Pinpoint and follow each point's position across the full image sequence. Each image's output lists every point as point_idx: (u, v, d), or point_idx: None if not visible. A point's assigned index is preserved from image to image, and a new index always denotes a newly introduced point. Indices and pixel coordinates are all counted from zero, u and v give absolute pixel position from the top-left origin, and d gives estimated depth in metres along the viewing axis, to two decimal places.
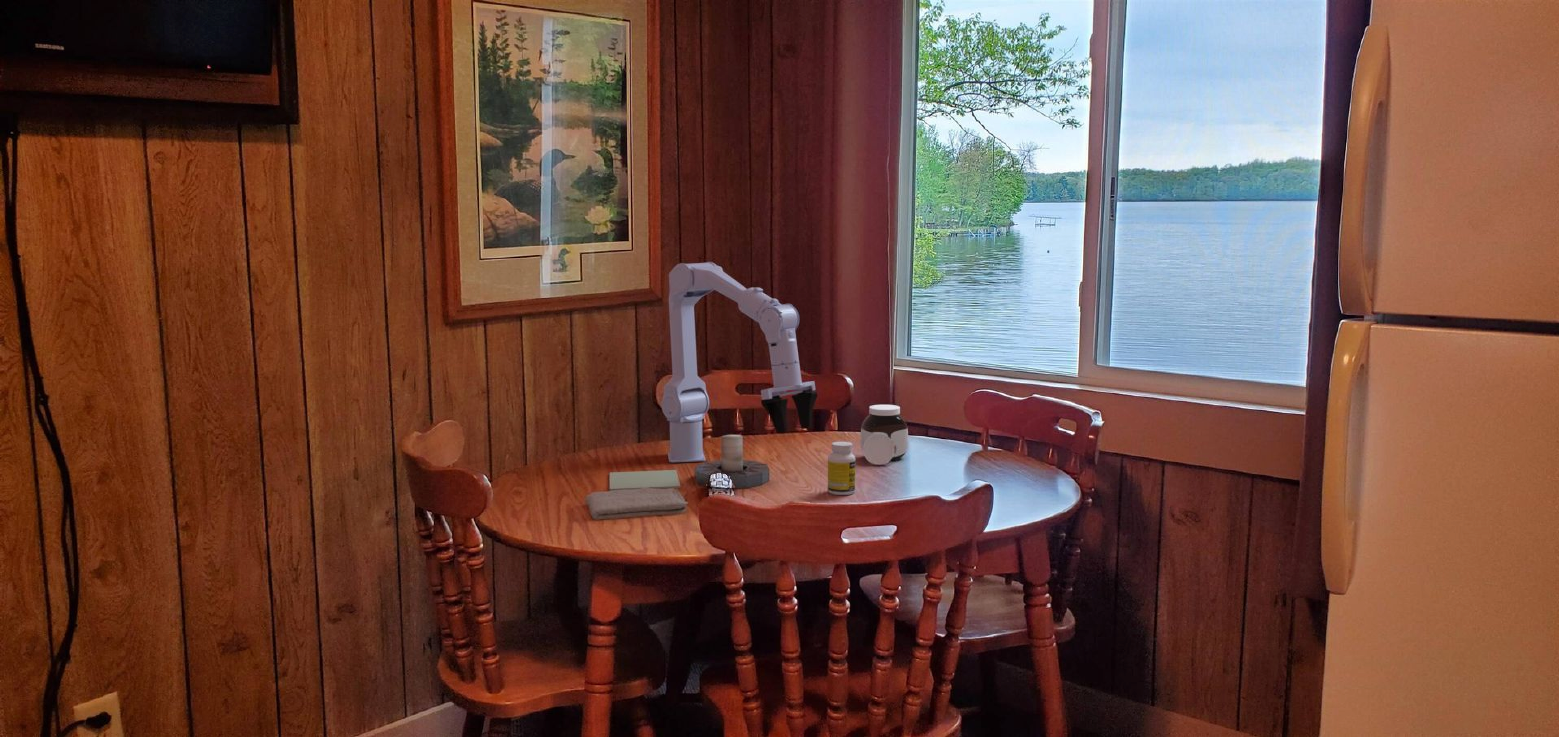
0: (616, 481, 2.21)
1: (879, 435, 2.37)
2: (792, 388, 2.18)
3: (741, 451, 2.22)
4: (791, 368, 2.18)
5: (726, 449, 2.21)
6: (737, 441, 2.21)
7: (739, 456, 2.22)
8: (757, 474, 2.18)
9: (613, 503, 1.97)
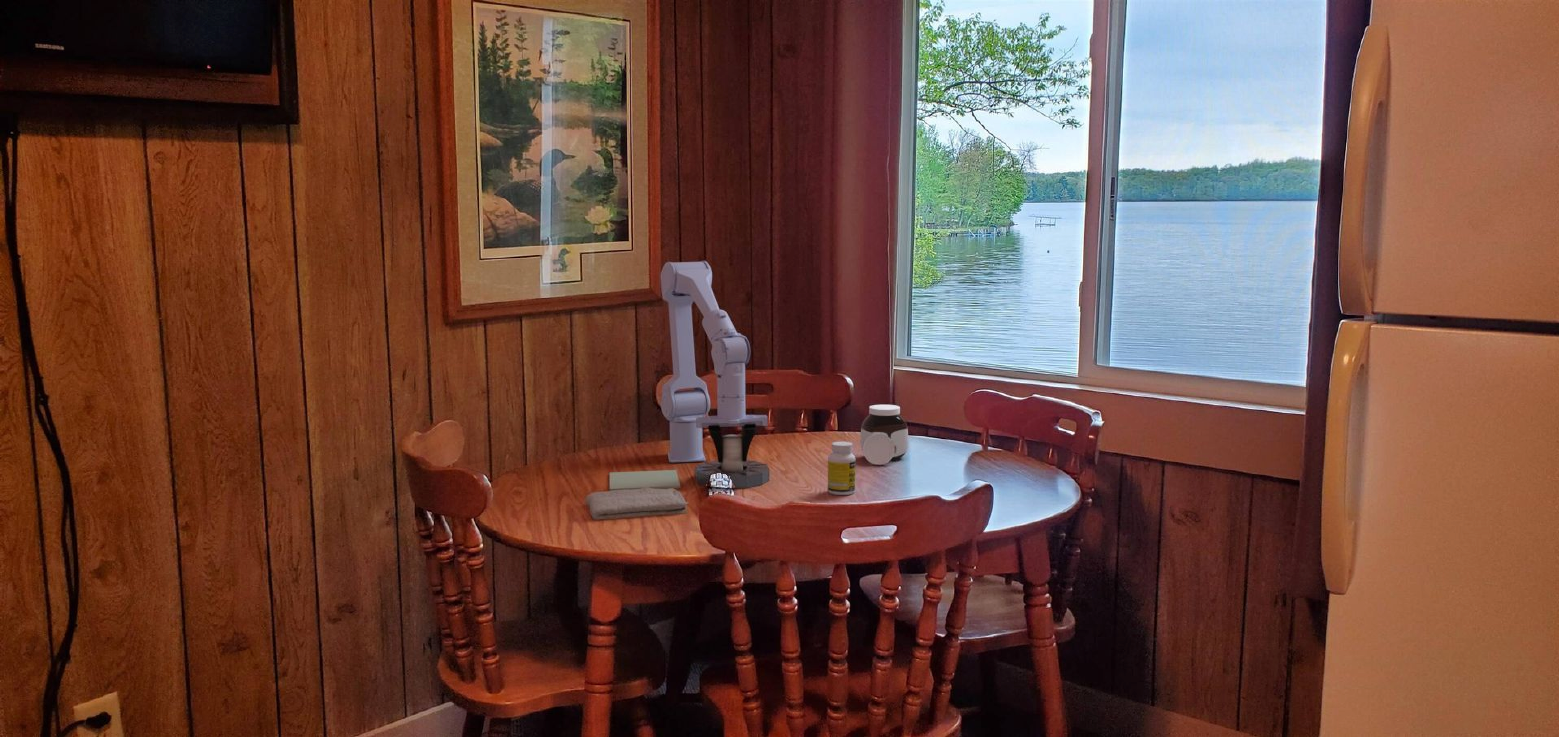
0: (616, 481, 2.21)
1: (879, 435, 2.37)
2: (724, 422, 2.19)
3: (741, 451, 2.22)
4: (726, 402, 2.19)
5: (726, 449, 2.21)
6: (737, 441, 2.21)
7: (739, 456, 2.22)
8: (757, 474, 2.18)
9: (614, 503, 1.97)
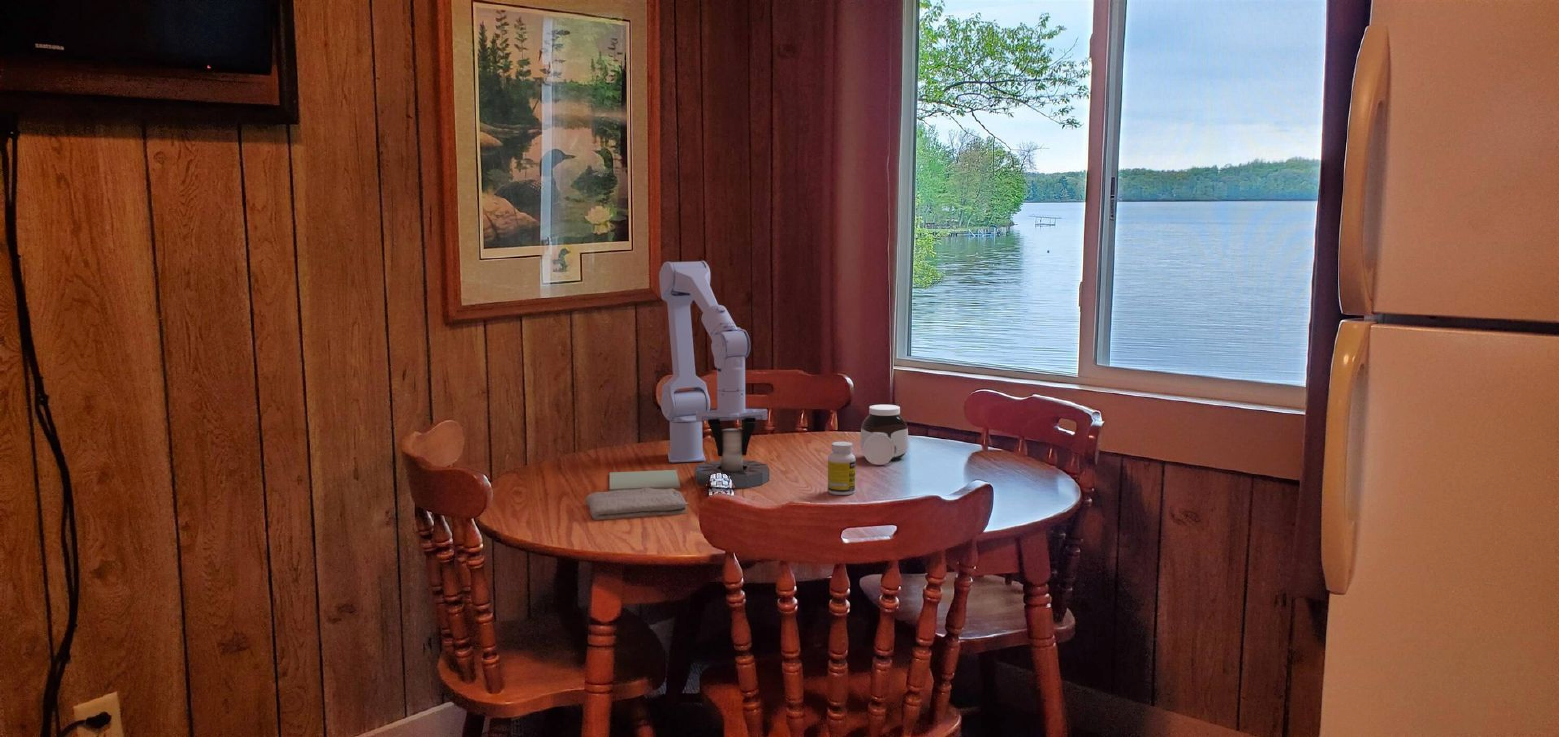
0: (616, 481, 2.21)
1: (879, 435, 2.37)
2: (724, 416, 2.19)
3: (741, 445, 2.22)
4: (726, 396, 2.19)
5: (726, 443, 2.21)
6: (737, 435, 2.21)
7: (739, 450, 2.21)
8: (757, 474, 2.18)
9: (614, 503, 1.97)
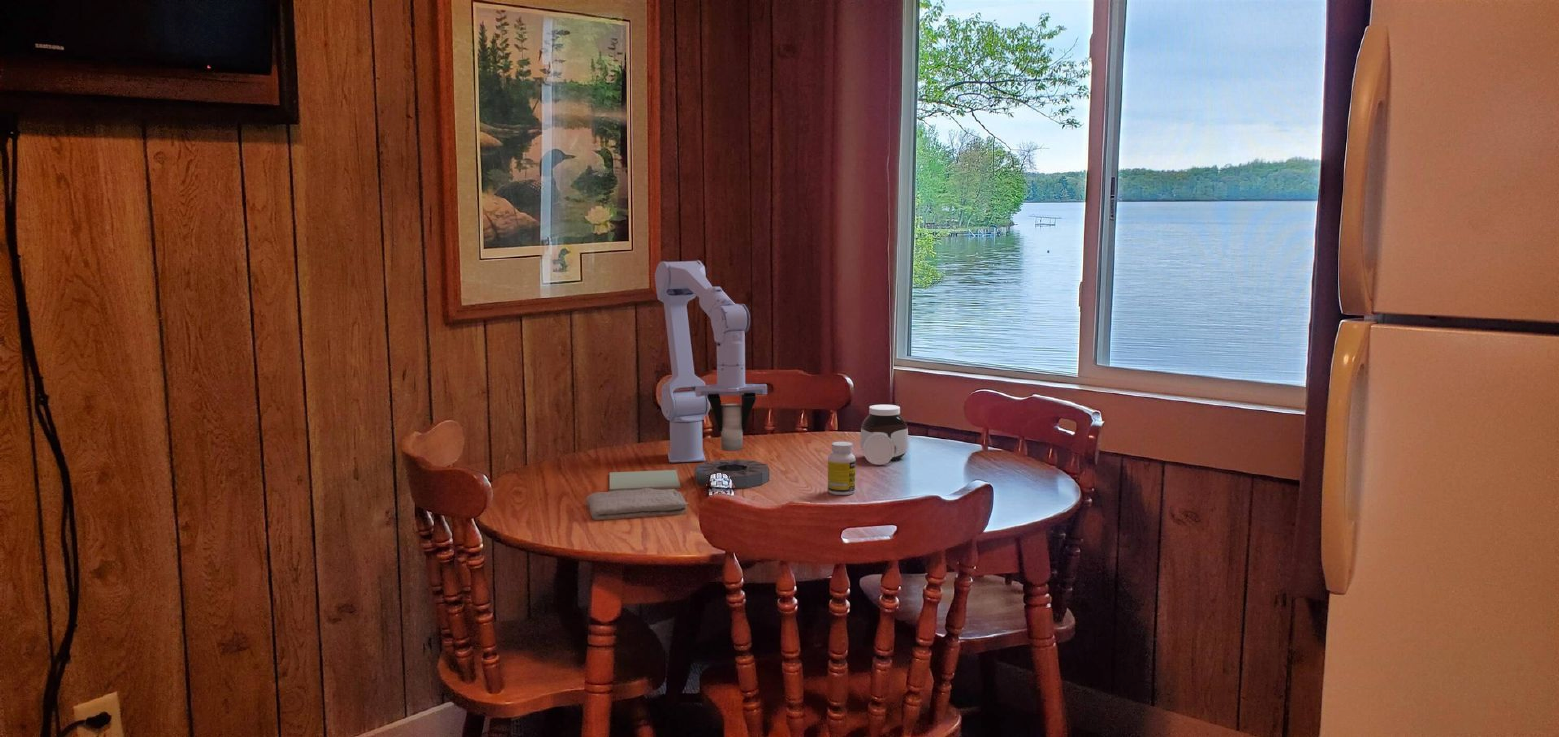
0: (616, 481, 2.21)
1: (879, 435, 2.37)
2: (724, 390, 2.18)
3: (741, 420, 2.21)
4: (726, 370, 2.18)
5: (726, 418, 2.20)
6: (737, 410, 2.20)
7: (739, 425, 2.21)
8: (757, 474, 2.18)
9: (614, 503, 1.97)
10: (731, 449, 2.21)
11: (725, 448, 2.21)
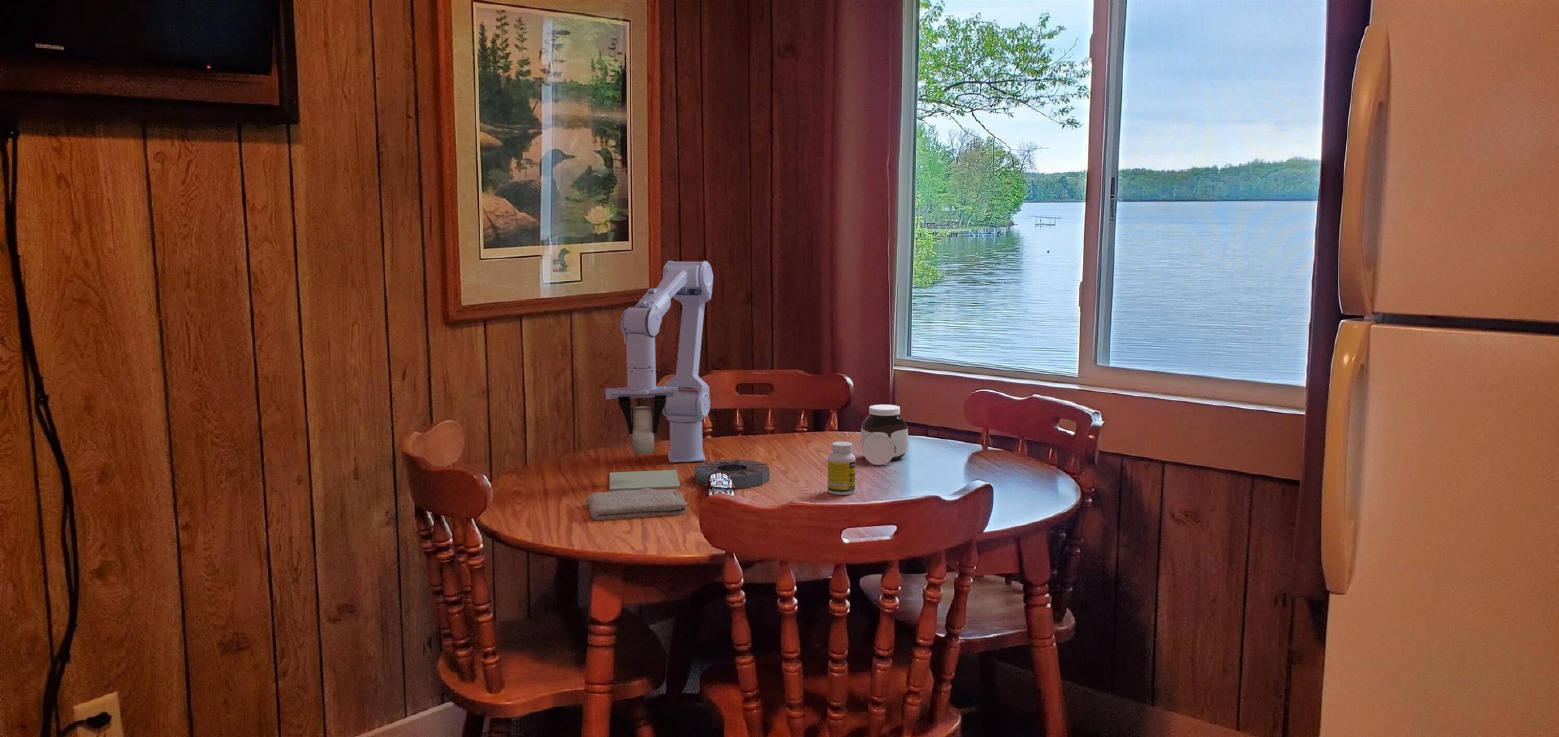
0: (616, 481, 2.21)
1: (879, 435, 2.37)
2: (633, 393, 2.18)
3: (651, 423, 2.20)
4: (635, 373, 2.17)
5: (636, 420, 2.19)
6: (647, 412, 2.19)
7: (650, 428, 2.20)
8: (757, 474, 2.18)
9: (613, 504, 1.97)
10: (642, 452, 2.20)
11: (636, 451, 2.20)
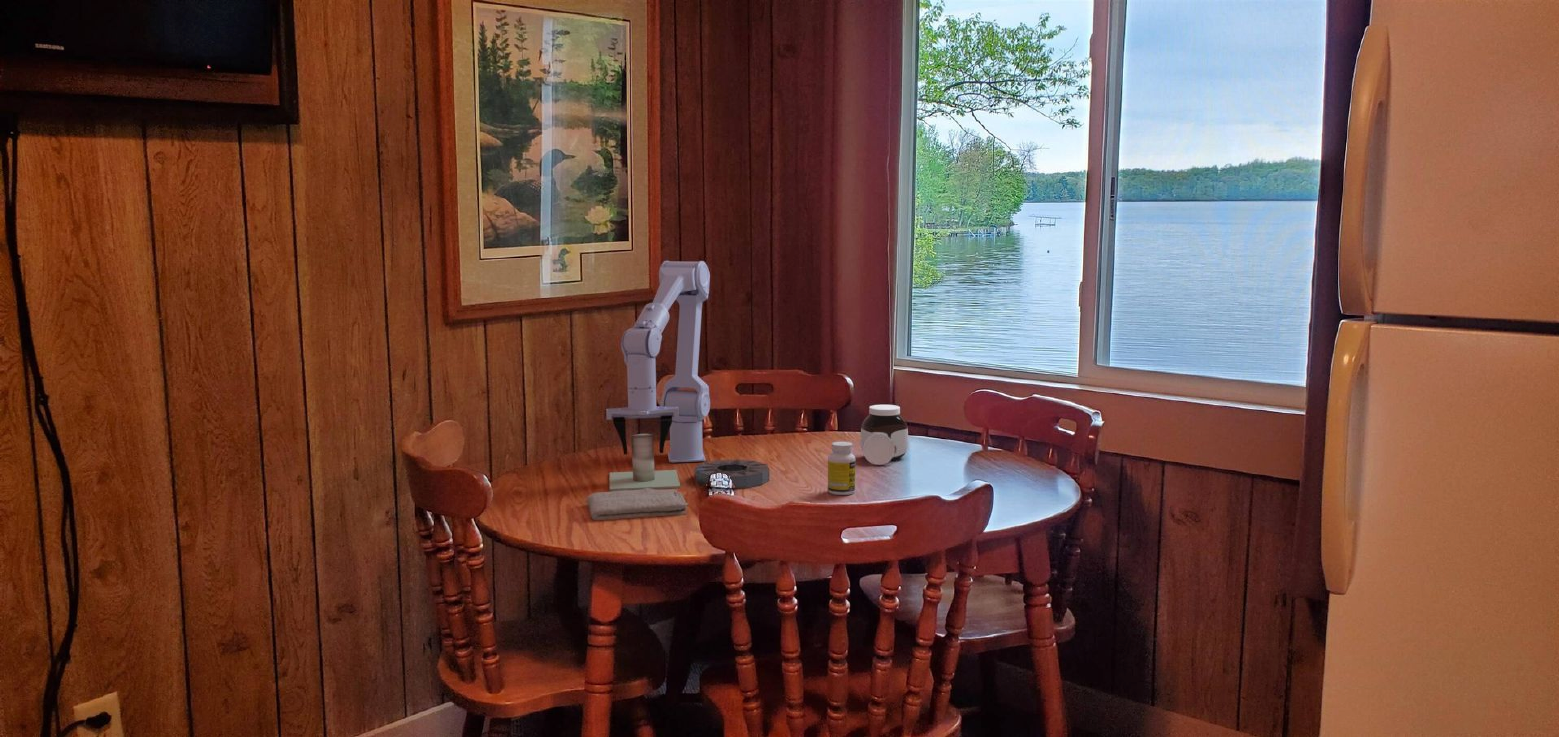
0: (616, 481, 2.21)
1: (879, 435, 2.37)
2: (634, 413, 2.18)
3: (651, 450, 2.21)
4: (636, 394, 2.18)
5: (636, 448, 2.20)
6: (647, 440, 2.20)
7: (650, 455, 2.21)
8: (757, 474, 2.18)
9: (613, 504, 1.97)
10: (642, 479, 2.21)
11: (636, 478, 2.21)
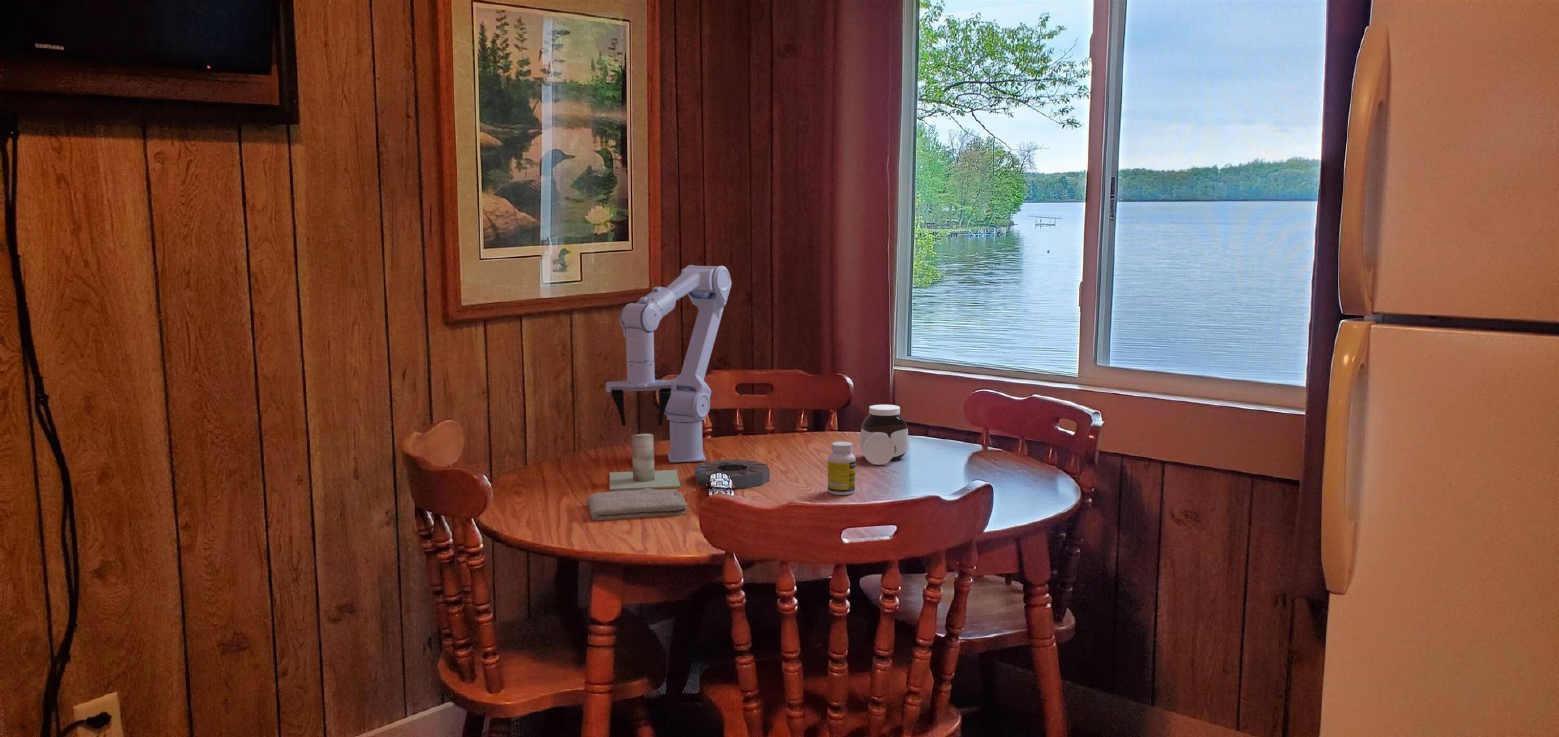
0: (616, 481, 2.21)
1: (879, 435, 2.37)
2: (633, 386, 2.24)
3: (652, 450, 2.21)
4: (635, 367, 2.24)
5: (637, 448, 2.20)
6: (647, 440, 2.20)
7: (650, 456, 2.21)
8: (757, 474, 2.18)
9: (613, 504, 1.97)
10: (642, 480, 2.21)
11: (636, 479, 2.21)
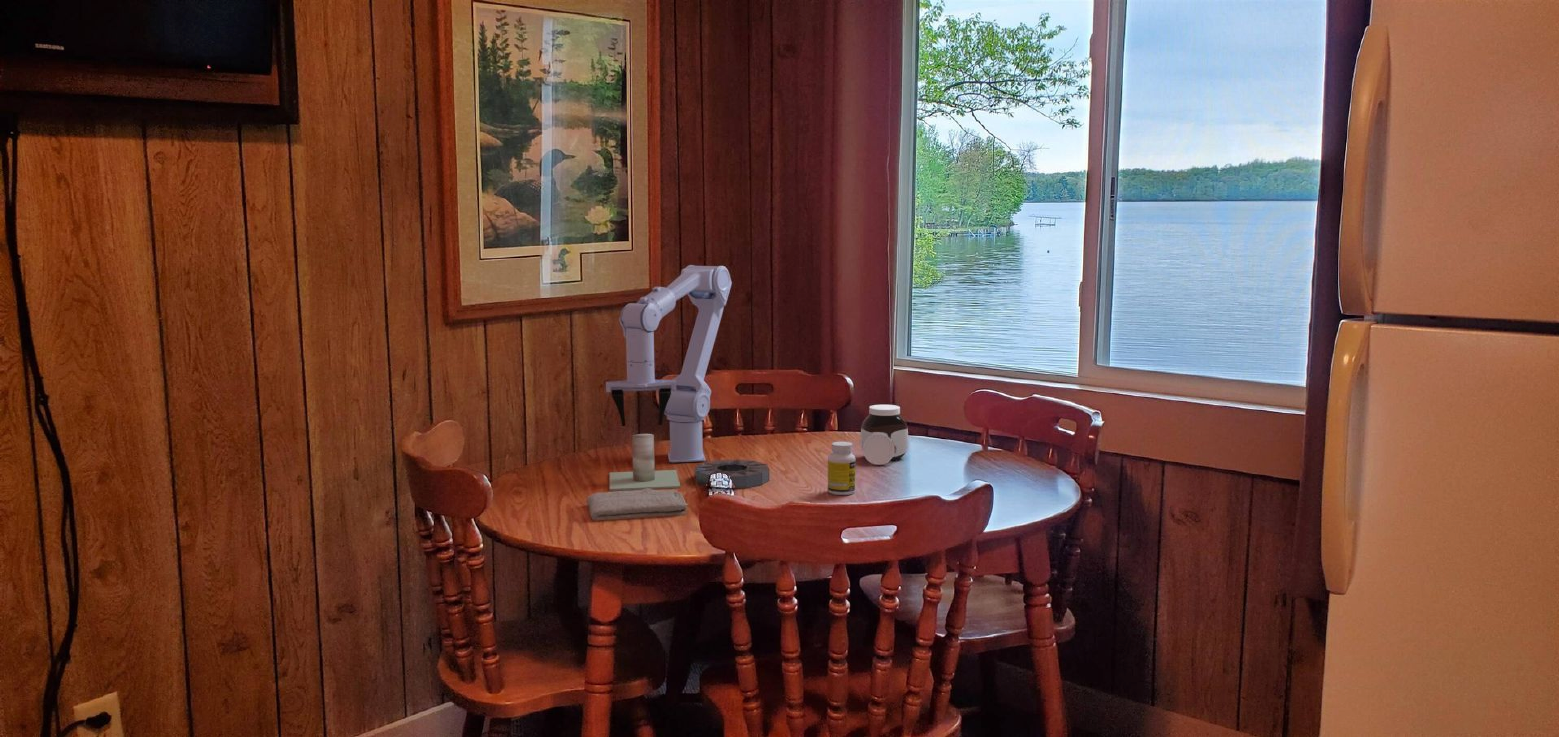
0: (616, 481, 2.21)
1: (879, 435, 2.37)
2: (633, 386, 2.24)
3: (652, 450, 2.21)
4: (635, 367, 2.24)
5: (637, 448, 2.20)
6: (648, 440, 2.20)
7: (650, 455, 2.21)
8: (757, 474, 2.18)
9: (613, 504, 1.97)
10: (642, 479, 2.21)
11: (636, 478, 2.21)
